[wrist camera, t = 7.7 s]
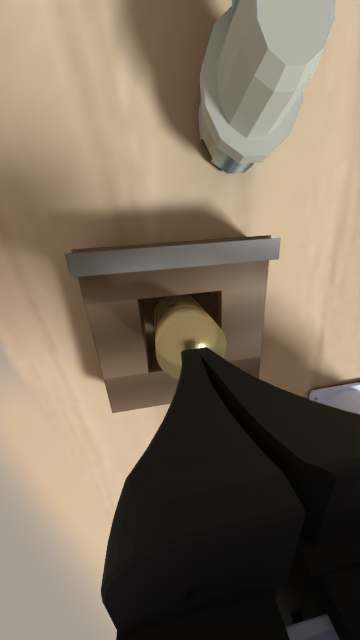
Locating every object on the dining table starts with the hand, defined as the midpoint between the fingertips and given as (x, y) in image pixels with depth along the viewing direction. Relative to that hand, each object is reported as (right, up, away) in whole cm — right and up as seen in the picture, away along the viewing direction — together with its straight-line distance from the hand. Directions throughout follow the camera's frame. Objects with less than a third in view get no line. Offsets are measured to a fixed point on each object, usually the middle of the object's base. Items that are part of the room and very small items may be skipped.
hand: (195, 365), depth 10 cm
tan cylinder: (-1, +3, +7) cm, 7 cm away
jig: (-1, +2, +7) cm, 7 cm away
